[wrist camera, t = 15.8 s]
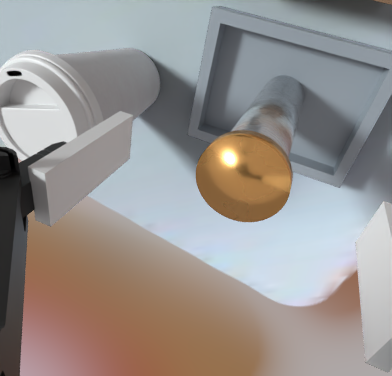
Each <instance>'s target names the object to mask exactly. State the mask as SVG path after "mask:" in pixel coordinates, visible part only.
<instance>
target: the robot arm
mask: <svg viewBox="0 0 392 376" xmlns="http://www.w3.org/2000/svg"><path fill="white" fill-rule="evenodd" d="M132 120H133V115H131V114H128V113H125V112H122V111H119V112H118V113H116V114H114V115H113V116H111V117H109V118H108V119H106V120H104V121H103V122H101V123H99V124H98V125H96V126H94V127H93V128H91V129H89V130H88V131H86V132H84V133H83V134H81V135H80V136H78V137H76V138H75V139H73V140H71V141H70V142H68V143H67V142H64V141H62V142H58V143H54V144H51V145H50V146H48V147H46V148H44V150H41V151H39V152H37V154H34V155H32V156H31V157H29V158H27V159H25V160H24V161H22V162H20V163H18V157H17V153H16V152H15V151H14V150H13V149H10V148H7V147H0V376H20V355H21V339H22V321H23V303H24V284H25V267H26V250H27V232H28V218H27V215H28V214H29V213H30V212H32V211H33V210H34V212H35V219H36V220H37V221H39V222H41V223H44V224H46V225H48V226H52V225H53V224H54V223H56V222H57V221H58V220H59V219H60V218H61V217H62V216H64V215H65V214H66V213H67V212H68V211H70V210H71V209H72V208H73V207H74V206H75V205H76V204H78V203H79V202H80V201H81V200H82V199H83V198H84V197H86V196H87V195H88V194H89V193H90V192H92V191H93V190H94V189H95V188H96V187H97V186H98V185H100V184H101V183H102V182H103V181H104V180H105V179H107V178H108V177H109V176H110V175H111V174H112V173H114V172H115V171H116V170H117V169H118V168H119V167H120V166H122V165H123V164H124V163H125V162H126V161H127V160H129V159H130V147H131V134H132ZM355 243H356V255H357V267H358V279H359V291H360V303H361V315H362V327H363V339H364V351H365V363H367V364H369V365H371V366H374V367H376V368H378V369H381V370H383V371H385V372H389V371H390V370H391V369H392V204H391V203H388V202H385V201H383V202H382V204H381V205H380V207H379V208H378V210H377V211H376V213H375V214H374V216H373V217H372V219H371V220H370V221H369V223H368V224H367V226H366V227H365V229H364V230H363V232H362V233H361V235H360V236H359V238H358V239H357V240H356V242H355Z"/></svg>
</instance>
